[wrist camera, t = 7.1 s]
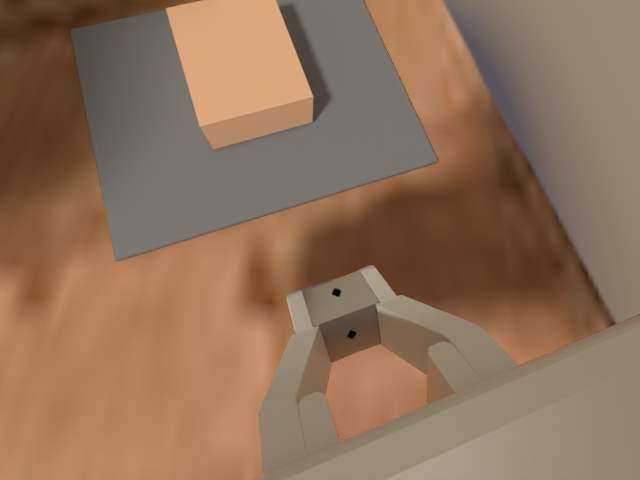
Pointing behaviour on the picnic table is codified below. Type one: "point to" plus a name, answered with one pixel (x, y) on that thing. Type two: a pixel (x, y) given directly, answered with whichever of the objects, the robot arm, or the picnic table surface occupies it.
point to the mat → (248, 156)
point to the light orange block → (240, 69)
